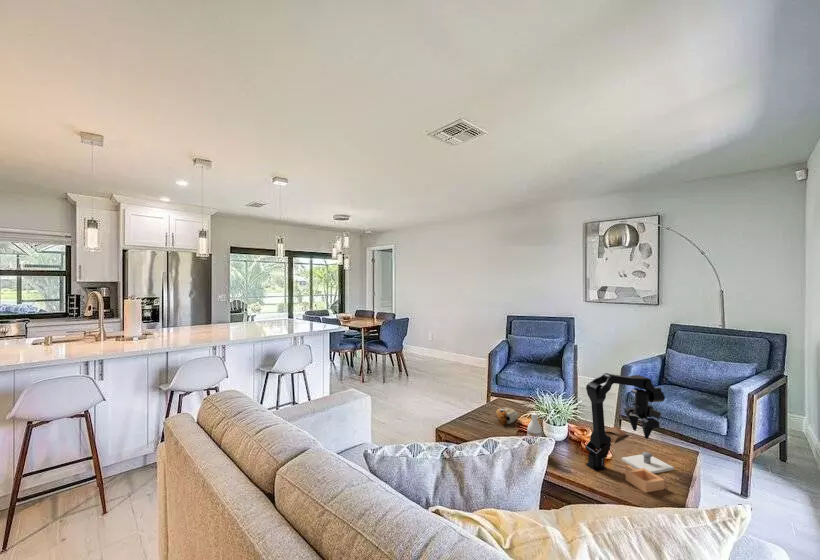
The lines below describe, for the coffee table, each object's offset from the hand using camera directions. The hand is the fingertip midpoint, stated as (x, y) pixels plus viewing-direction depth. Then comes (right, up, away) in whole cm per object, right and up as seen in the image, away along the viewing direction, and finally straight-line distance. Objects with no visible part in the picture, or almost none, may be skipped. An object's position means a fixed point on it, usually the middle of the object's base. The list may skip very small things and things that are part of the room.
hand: (640, 434), depth 181 cm
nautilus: (-54, -13, +49) cm, 74 cm away
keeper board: (+2, -14, -2) cm, 14 cm away
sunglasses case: (+3, -14, +29) cm, 32 cm away
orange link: (-11, -14, -17) cm, 25 cm away
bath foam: (-48, -14, +9) cm, 51 cm away
